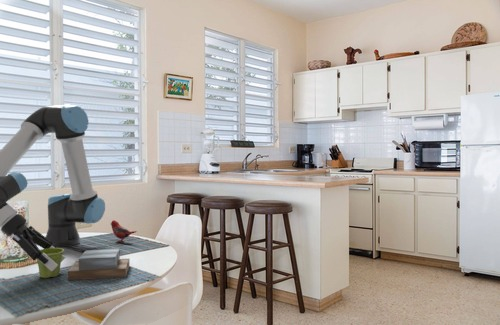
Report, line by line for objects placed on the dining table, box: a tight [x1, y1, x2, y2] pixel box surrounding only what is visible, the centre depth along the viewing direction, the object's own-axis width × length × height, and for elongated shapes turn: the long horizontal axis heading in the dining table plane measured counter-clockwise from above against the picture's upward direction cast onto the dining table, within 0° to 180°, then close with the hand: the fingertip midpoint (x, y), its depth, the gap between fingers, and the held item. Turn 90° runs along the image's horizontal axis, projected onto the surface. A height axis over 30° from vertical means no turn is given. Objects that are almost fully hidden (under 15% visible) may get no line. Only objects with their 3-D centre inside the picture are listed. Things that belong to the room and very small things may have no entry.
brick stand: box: [67, 248, 130, 281], centre depth 147 cm, size 13×19×7 cm
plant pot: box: [36, 247, 65, 279], centre depth 143 cm, size 9×9×9 cm
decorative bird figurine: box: [110, 220, 138, 243], centre depth 194 cm, size 3×18×10 cm, turn 59°
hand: (59, 264), depth 144 cm, fingers closed on plant pot, 9 cm apart
